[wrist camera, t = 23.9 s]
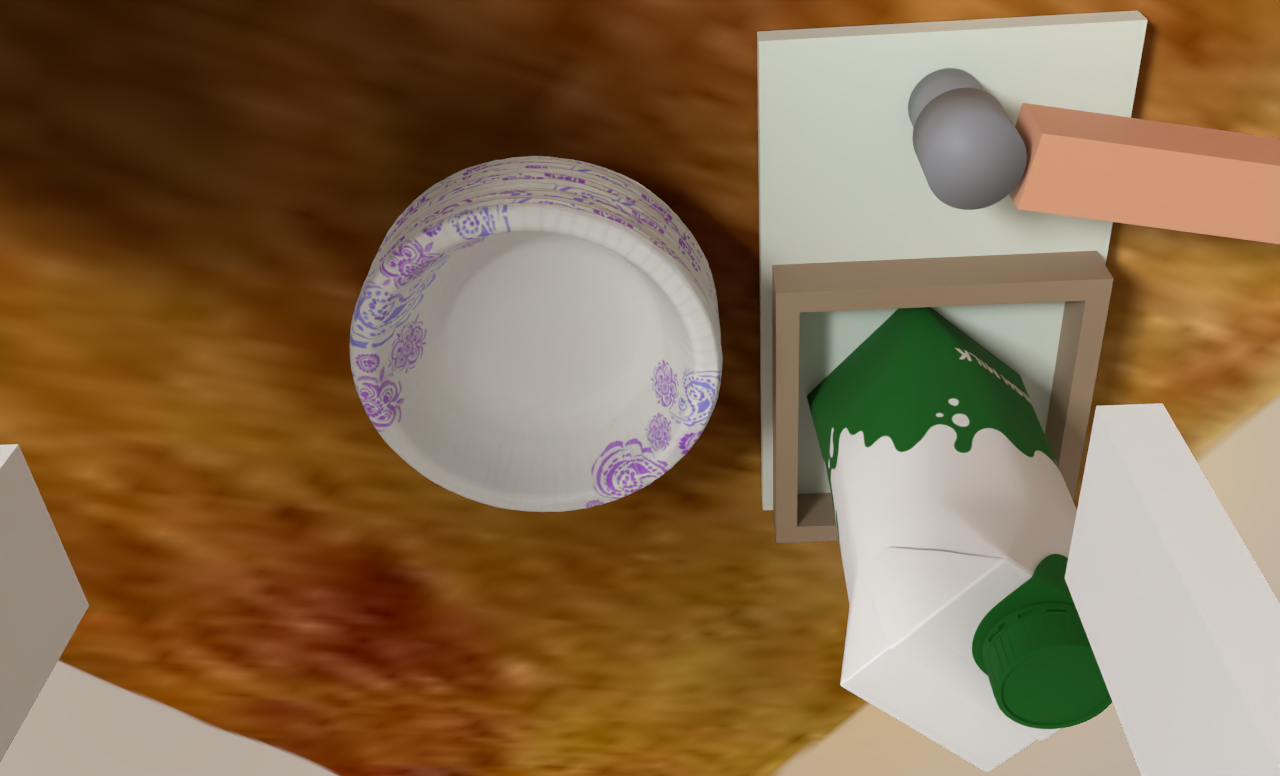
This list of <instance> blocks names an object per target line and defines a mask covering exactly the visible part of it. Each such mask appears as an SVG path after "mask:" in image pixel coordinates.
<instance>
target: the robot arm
mask: <svg viewBox="0 0 1280 776" xmlns="http://www.w3.org/2000/svg"><path fill="white" fill-rule="evenodd" d="M1065 581H1066V583H1067V586H1068V588H1069V591H1070V594H1071V596H1072V599H1073V601H1074V604H1075V606H1076V609H1077V612H1078V614H1079V617H1080V619H1081V622H1082V625H1083V627H1084V630H1085V632H1086V635H1087V637H1088V640H1089V643H1090V645H1091V648H1092V650H1093V653H1094V656H1095V658H1096V661H1097V663H1098V666H1099V668H1100V671H1101V674H1102V676H1103V679H1104V681H1105V684H1106V687H1107V689H1108V692H1109V694H1110V697H1111V699H1112V702H1113V705H1114V707H1115V710H1116V712H1117V715H1118V717H1119V720H1120V722H1121V725H1122V728H1123V730H1124V733H1125V735H1126V738H1127V741H1128V743H1129V746H1130V748H1131V751H1132V753H1133V756H1134V758H1135V761H1136V764H1137V767H1138V769H1139V772H1140V774H1141V776H1280V603H1279V601H1278V600H1277V598H1276V596H1275V594H1274V593H1273V591H1272V589H1271V588H1270V586H1269V584H1268V583H1267V581H1266V579H1265V577H1264V576H1263V574H1262V572H1261V571H1260V569H1259V567H1258V566H1257V564H1256V562H1255V560H1254V559H1253V557H1252V556H1251V554H1250V552H1249V550H1248V548H1247V547H1246V545H1245V543H1244V542H1243V540H1242V538H1241V537H1240V535H1239V533H1238V531H1237V530H1236V528H1235V526H1234V524H1233V523H1232V521H1231V519H1230V518H1229V516H1228V514H1227V513H1226V511H1225V509H1224V507H1223V506H1222V504H1221V502H1220V501H1219V499H1218V497H1217V495H1216V494H1215V492H1214V490H1213V489H1212V487H1211V485H1210V484H1209V482H1208V480H1207V479H1206V477H1205V475H1204V473H1203V472H1202V470H1201V468H1200V467H1199V465H1198V463H1197V461H1196V460H1195V458H1194V456H1193V455H1192V453H1191V451H1190V449H1189V448H1188V446H1187V444H1186V443H1185V441H1184V439H1183V437H1182V436H1181V434H1180V432H1179V431H1178V429H1177V427H1176V426H1175V424H1174V422H1173V420H1172V419H1171V417H1170V415H1169V414H1168V412H1167V410H1166V408H1165V407H1164V405H1163V403H1159V404H1131V405H1103V406H1096V410H1095V416H1094V421H1093V426H1092V432H1091V437H1090V443H1089V448H1088V453H1087V459H1086V464H1085V470H1084V475H1083V481H1082V486H1081V491H1080V497H1079V502H1078V508H1077V513H1076V519H1075V524H1074V529H1073V535H1072V540H1071V546H1070V551H1069V557H1068V562H1067V567H1066V573H1065ZM88 606H89V605H88V602H87V600H86V598H85V595H84V593H83V591H82V589H81V586H80V584H79V582H78V579H77V577H76V575H75V573H74V570H73V568H72V566H71V563H70V561H69V559H68V557H67V554H66V552H65V550H64V547H63V545H62V543H61V541H60V538H59V536H58V534H57V531H56V529H55V527H54V525H53V522H52V520H51V518H50V515H49V513H48V511H47V509H46V506H45V504H44V502H43V499H42V497H41V495H40V493H39V490H38V488H37V486H36V483H35V481H34V479H33V477H32V474H31V472H30V470H29V467H28V465H27V463H26V460H25V458H24V456H23V454H22V451H21V449H20V447H19V444H13V445H0V762H1V760H2V758H3V757H4V755H5V753H6V751H7V750H8V748H9V746H10V744H11V742H12V741H13V739H14V737H15V735H16V734H17V732H18V730H19V728H20V727H21V725H22V723H23V721H24V720H25V718H26V716H27V714H28V712H29V711H30V709H31V707H32V705H33V704H34V702H35V700H36V698H37V697H38V694H39V693H40V691H41V689H42V688H43V686H44V684H45V682H46V681H47V678H48V677H49V675H50V673H51V672H52V670H53V668H54V667H55V664H56V663H57V661H58V659H59V658H60V656H61V654H62V652H63V651H64V649H65V647H66V645H67V644H68V642H69V640H70V638H71V636H72V635H73V633H74V631H75V629H76V628H77V626H78V624H79V622H80V621H81V619H82V617H83V615H84V614H85V612H86V610H87V608H88Z"/></svg>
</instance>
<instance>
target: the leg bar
mask: <svg viewBox="0 0 1280 776" xmlns="http://www.w3.org/2000/svg"><path fill="white" fill-rule="evenodd" d="M912 139H913V147H914V150H915V153H916V155H917V158H918V160H919V163H920V165H921V168H922V170H923V172H924V175H925V177H926V180H927V182H928V185H929V187H930V189H931V191H932V192H933V193H934V195H935V196H936V197H937V198H938V199H939V200H940V201H942V202H943V203H945V204H947V205H949V206H951V207H954V208H957V209H963V210H975V209H981V208H985V207H988V206H991V205H993V204H995V203H997V202H999V201H1001V200H1002V199H1003V198H1005V197H1006V196H1007V195H1008V194H1009V195H1010V197H1011V199H1012V201H1013V203H1014V204H1015V206H1016V208H1017V209H1020V210H1027V211H1035V212H1042V213H1050V214H1057V215H1065V216H1072V217H1080V218H1087V219H1095V220H1102V221H1110V222H1117V223H1125V224H1132V225H1139V226H1147V227H1154V228H1162V229H1169V230H1177V231H1184V232H1192V233H1199V234H1207V235H1214V236H1222V237H1229V238H1237V239H1244V240H1252V241H1259V242H1267V243H1274V244H1280V138H1274V137H1267V136H1260V135H1252V134H1245V133H1238V132H1231V131H1224V130H1216V129H1209V128H1202V127H1195V126H1187V125H1180V124H1173V123H1166V122H1158V121H1151V120H1144V119H1137V118H1129V117H1122V116H1115V115H1108V114H1101V113H1093V112H1086V111H1079V110H1072V109H1064V108H1057V107H1050V106H1043V105H1035V104H1028V103H1023V104H1022V107H1021V110H1020V113H1019V116H1018V119H1017V122H1016V125H1015V126H1014V124H1013V123H1012V121H1011V120H1010V118H1009V116H1008V115H1007V113H1006V111H1005V110H1004V108H1003V106H1002V105H1001V104H1000V102H999V101H998V100H997V99H996V98H995V97H994V96H992V95H991V94H989V93H987V92H985V91H983V90H980V89H976V88H957V89H953V90H949V91H947V92H944V93H942V94H940V95H939V96H937V97H935V98H934V99H933V100H931V101H930V102H929V103H928V104H927V105H926V106H925V107H924V109H923V110H922V111H921V113H920V114H919V116H918V118H917V120H916V122H915V125H914V129H913V137H912Z"/></svg>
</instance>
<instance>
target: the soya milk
mask: <svg viewBox="0 0 1280 776" xmlns="http://www.w3.org/2000/svg"><path fill="white" fill-rule="evenodd" d="M807 400H808V403H809V407H810V411H811V415H812V419H813V423H814V426H815V430H816V434H817V438H818V442H819V446H820V449H821V453H822V457H823V461H824V465H825V468H826V472H827V476H828V480H829V485H830V491H831V496H832V502H833V508H834V514H835V520H836V526H837V532H838V538H839V544H840V550H841V556H842V562H843V568H844V574H845V580H846V586H847V593H848V599H849V605H850V606H849V616H848V624H847V632H846V641H845V649H844V657H843V665H842V674H841V682H840V686H842V687H843V688H845V689H847V690H848V691H850V692H852V693H853V694H855V695H857V696H858V697H860V698H862V699H863V700H865V701H867V702H868V703H870V704H872V705H873V706H875V707H877V708H879V709H880V710H882V711H883V712H885V713H887V714H889V715H890V716H892V717H894V718H895V719H897V720H899V721H900V722H902V723H904V724H905V725H907V726H909V727H910V728H912V729H914V730H915V731H917V732H919V733H921V734H922V735H924V736H925V737H927V738H929V739H931V740H932V741H934V742H935V743H937V744H939V745H941V746H942V747H944V748H946V749H947V750H949V751H951V752H952V753H954V754H956V755H958V756H959V757H961V758H962V759H964V760H966V761H968V762H969V763H971V764H973V765H974V766H976V767H978V768H979V769H981V770H983V771H984V772H986V773H988V772H990V771H992V770H993V769H995V768H996V767H998V766H999V765H1001V764H1002V763H1004V762H1005V761H1007V760H1008V759H1010V758H1011V757H1013V756H1014V755H1016V754H1017V753H1019V752H1020V751H1022V750H1023V749H1025V748H1026V747H1028V746H1029V745H1031V744H1032V743H1033V742H1035V741H1036V740H1039V741H1041V742H1042V741H1044V740H1046V739H1048V738H1049V737H1051V736H1052V735H1054V734H1056V733H1057V732H1058V731H1060V730H1061V729H1063V728H1065V727H1070V726H1073V725H1077V724H1080V723H1082V722H1085V721H1087V720H1089V719H1091V718H1093V717H1095V716H1097V715H1098V714H1100V713H1101V712H1102V711H1103V710H1105V709H1106V708H1107V707H1108V705H1110V704H1111V703H1112V699H1111V697H1110V694H1109V692H1108V689H1107V687H1106V684H1105V681H1104V679H1103V676H1102V674H1101V671H1100V668H1099V666H1098V663H1097V661H1096V658H1095V656H1094V653H1093V650H1092V648H1091V645H1090V643H1089V640H1088V637H1087V635H1086V632H1085V630H1084V627H1083V625H1082V622H1081V619H1080V617H1079V614H1078V612H1077V609H1076V606H1075V604H1074V601H1073V599H1072V596H1071V594H1070V591H1069V588H1068V586H1067V583H1066V581H1065V573H1066V567H1067V562H1068V557H1069V551H1070V546H1071V540H1072V535H1073V529H1074V524H1075V519H1076V513H1077V509H1076V507H1075V504H1074V502H1073V500H1072V497H1071V495H1070V493H1069V490H1068V488H1067V486H1066V483H1065V481H1064V479H1063V476H1062V474H1061V472H1060V469H1059V467H1058V465H1057V462H1056V460H1055V458H1054V455H1053V453H1052V451H1051V448H1050V446H1049V443H1048V441H1047V439H1046V436H1045V434H1044V432H1043V429H1042V427H1041V425H1040V422H1039V420H1038V418H1037V415H1036V413H1035V410H1034V408H1033V405H1032V403H1031V400H1030V398H1029V396H1028V393H1027V391H1026V388H1025V386H1024V383H1023V381H1022V379H1021V376H1020V375H1019V374H1018V373H1017V372H1015V371H1014V370H1013V369H1011V368H1010V367H1009V366H1008V365H1006V364H1005V363H1004V362H1002V361H1001V360H1000V359H998V358H997V357H996V356H994V355H993V354H992V353H990V352H989V351H988V350H987V349H985V348H984V347H983V346H981V345H980V344H979V343H977V342H976V341H975V340H973V339H972V338H971V337H969V336H968V335H967V334H966V333H964V332H963V331H962V330H960V329H959V328H958V327H956V326H955V325H954V324H952V323H951V322H950V321H948V320H947V319H946V318H944V317H943V316H942V315H941V314H939V313H938V312H937V311H935V310H934V309H933V308H931V307H920V308H899V309H897V310H896V311H895V312H894V313H893V314H892V315H891V316H890V317H889V318H888V319H887V320H886V321H885V322H884V323H883V324H882V325H881V326H880V327H879V328H877V329H876V330H875V331H874V332H873V333H872V334H871V335H870V336H869V337H868V338H867V339H866V340H865V341H864V342H863V343H862V344H861V345H860V346H859V347H857V348H856V349H855V350H854V351H853V352H852V353H851V354H850V355H849V356H848V357H847V358H846V359H845V360H844V361H843V362H842V363H841V364H840V365H838V366H837V367H836V368H835V369H834V370H833V371H832V372H831V373H830V374H829V375H828V376H827V377H826V378H825V379H824V380H823V381H822V382H821V383H820V384H818V385H817V386H816V387H815V388H814V389H813V390H812V391H811V392H810V393H809V394H808V395H807Z"/></svg>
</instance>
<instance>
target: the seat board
mask: <svg viewBox="0 0 1280 776" xmlns="http://www.w3.org/2000/svg"><path fill="white" fill-rule="evenodd" d="M1147 21H1148V20H1147V19H1146V18H1145V17H1144V16H1143V15H1142V14H1141V13H1140V12H1139V11H1121V12H1103V13H1085V14H1067V15H1048V16H1030V17H1012V18H994V19H976V20H958V21H940V22H922V23H904V24H886V25H868V26H850V27H832V28H814V29H796V30H778V31H759V32H757V72H758V176H759V280H760V384H761V488H762V505H763V510H773V516H774V526H775V536H776V543H795V542H827V541H839V538H838V532H837V526H836V520H835V514H834V508H833V502H832V496H831V491H830V485H829V480H828V476H827V472H826V468H825V465H824V461H823V457H822V453H821V449H820V446H819V442H818V438H817V434H816V430H815V426H814V423H813V419H812V415H811V411H810V407H809V403H808V400H807V395H808V394H809V393H810V392H811V391H812V390H813V389H814V388H815V387H816V386H817V385H818V384H820V383H821V382H822V381H823V380H824V379H825V378H826V377H827V376H828V375H829V374H830V373H831V372H832V371H833V370H834V369H835V368H836V367H837V366H838V365H840V364H841V363H842V362H843V361H844V360H845V359H846V358H847V357H848V356H849V355H850V354H851V353H852V352H853V351H854V350H855V349H856V348H857V347H859V346H860V345H861V344H862V343H863V342H864V341H865V340H866V339H867V338H868V337H869V336H870V335H871V334H872V333H873V332H874V331H875V330H876V329H877V328H879V327H880V326H881V325H882V324H883V323H884V322H885V321H886V320H887V319H888V318H889V317H890V316H891V315H892V314H893V313H894V312H895V311H896V310H897V309H899V308H920V307H931V308H933V309H934V310H935V311H937V312H938V313H939V314H941V315H942V316H943V317H944V318H946V319H947V320H948V321H950V322H951V323H952V324H954V325H955V326H956V327H958V328H959V329H960V330H962V331H963V332H964V333H966V334H967V335H968V336H969V337H971V338H972V339H973V340H975V341H976V342H977V343H979V344H980V345H981V346H983V347H984V348H985V349H987V350H988V351H989V352H990V353H992V354H993V355H994V356H996V357H997V358H998V359H1000V360H1001V361H1002V362H1004V363H1005V364H1006V365H1008V366H1009V367H1010V368H1011V369H1013V370H1014V371H1015V372H1017V373H1018V374H1019V375H1020V376H1021V379H1022V381H1023V383H1024V386H1025V388H1026V391H1027V393H1028V396H1029V398H1030V400H1031V403H1032V405H1033V408H1034V410H1035V413H1036V415H1037V418H1038V420H1039V422H1040V425H1041V427H1042V429H1043V432H1044V434H1045V436H1046V439H1047V441H1048V443H1049V446H1050V448H1051V451H1052V453H1053V455H1054V458H1055V460H1056V462H1057V465H1058V467H1059V469H1060V472H1061V474H1062V476H1063V479H1064V481H1065V483H1066V486H1067V488H1068V490H1069V493H1070V495H1071V497H1072V500H1073V502H1074V499H1075V493H1076V488H1077V482H1078V476H1079V471H1080V465H1081V460H1082V454H1083V448H1084V443H1085V437H1086V431H1087V426H1088V420H1089V414H1090V409H1091V403H1092V398H1093V392H1094V386H1095V381H1096V375H1097V369H1098V364H1099V358H1100V353H1101V347H1102V341H1103V336H1104V330H1105V324H1106V319H1107V313H1108V307H1109V302H1110V296H1111V291H1112V285H1113V279H1114V278H1113V277H1112V275H1111V274H1110V272H1109V270H1108V269H1107V267H1106V266H1105V265H1106V259H1107V253H1108V248H1109V242H1110V236H1111V230H1112V224H1113V222H1110V221H1102V220H1095V219H1087V218H1080V217H1072V216H1065V215H1057V214H1050V213H1042V212H1035V211H1027V210H1020V209H1017V208H1016V206H1015V204H1014V203H1013V201H1012V199H1011V197H1010V195H1009V194H1008V195H1007V196H1006V197H1005V198H1003V199H1002V200H1001V201H999V202H997V203H995V204H993V205H991V206H988V207H985V208H981V209H975V210H963V209H957V208H954V207H951V206H949V205H947V204H945V203H943V202H942V201H940V200H939V199H938V198H937V197H936V196H935V195H934V193H933V192H932V191H931V189H930V187H929V185H928V182H927V180H926V177H925V175H924V172H923V170H922V168H921V165H920V163H919V160H918V158H917V155H916V153H915V150H914V147H913V139H912V137H913V129H914V125H915V122H916V120H917V118H918V116H919V114H920V113H921V111H922V110H923V109H924V107H925V106H926V105H927V104H928V103H929V102H930V101H931V100H933V99H934V98H935V97H937V96H939V95H940V94H942V93H944V92H947V91H949V90H953V89H957V88H976V89H980V90H983V91H985V92H987V93H989V94H991V95H992V96H994V97H995V98H996V99H997V100H998V101H999V102H1000V104H1001V105H1002V106H1003V108H1004V110H1005V111H1006V113H1007V115H1008V116H1009V118H1010V120H1011V121H1012V123H1013V124H1014V126H1015V125H1016V122H1017V119H1018V116H1019V113H1020V110H1021V107H1022V104H1023V103H1028V104H1035V105H1043V106H1050V107H1057V108H1064V109H1072V110H1079V111H1086V112H1093V113H1101V114H1108V115H1115V116H1122V117H1129V118H1131V114H1132V108H1133V102H1134V96H1135V91H1136V85H1137V79H1138V73H1139V67H1140V62H1141V56H1142V50H1143V44H1144V38H1145V33H1146V27H1147Z"/></svg>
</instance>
